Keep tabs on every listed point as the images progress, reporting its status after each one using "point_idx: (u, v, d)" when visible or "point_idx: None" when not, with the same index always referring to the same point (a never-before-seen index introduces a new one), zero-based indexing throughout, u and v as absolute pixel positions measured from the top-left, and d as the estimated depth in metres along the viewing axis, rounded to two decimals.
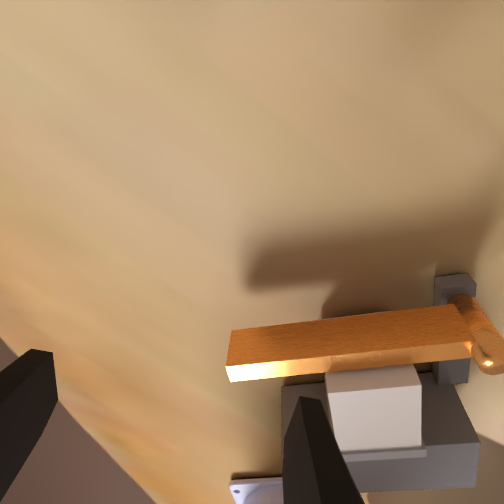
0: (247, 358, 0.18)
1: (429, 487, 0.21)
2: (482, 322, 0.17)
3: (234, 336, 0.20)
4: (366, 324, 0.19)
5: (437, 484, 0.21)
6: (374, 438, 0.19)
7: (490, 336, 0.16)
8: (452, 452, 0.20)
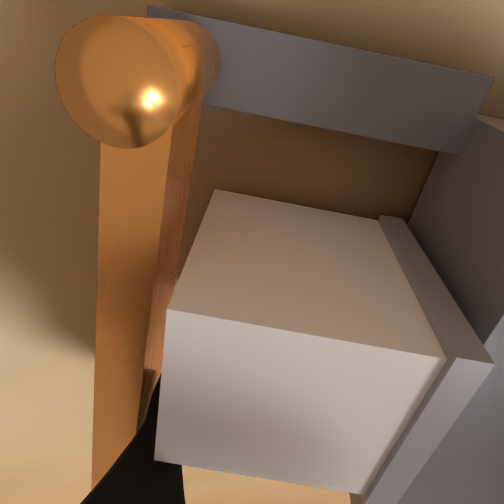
0: None
1: None
2: None
3: None
4: None
5: None
6: (347, 433, 0.07)
7: None
8: None
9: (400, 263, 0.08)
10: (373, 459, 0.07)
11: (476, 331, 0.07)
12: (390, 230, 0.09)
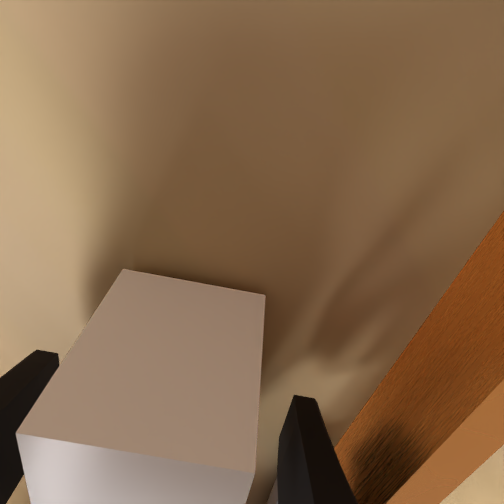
0: None
1: None
2: None
3: None
4: None
5: None
6: None
7: None
8: None
9: None
10: None
11: None
12: None
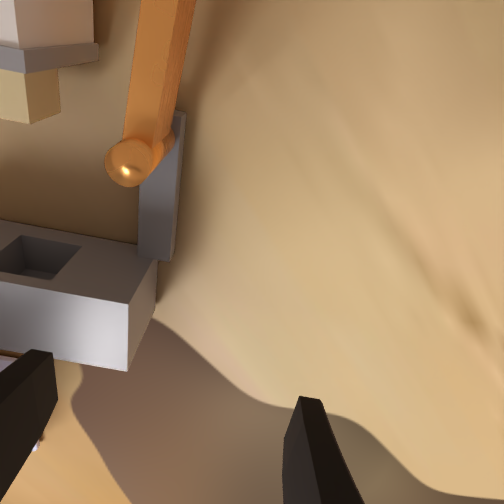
0: None
1: (76, 359, 0.18)
2: (160, 159, 0.14)
3: None
4: (189, 9, 0.12)
5: (84, 357, 0.18)
6: None
7: (153, 165, 0.13)
8: (97, 311, 0.16)
9: (67, 45, 0.13)
10: None
11: (58, 286, 0.16)
12: (88, 45, 0.14)
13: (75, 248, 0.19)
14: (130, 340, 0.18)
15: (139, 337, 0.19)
